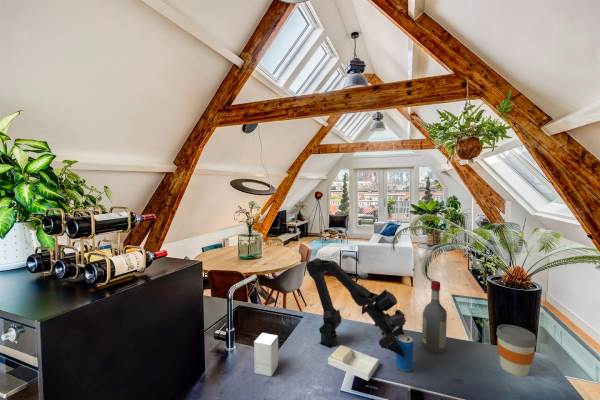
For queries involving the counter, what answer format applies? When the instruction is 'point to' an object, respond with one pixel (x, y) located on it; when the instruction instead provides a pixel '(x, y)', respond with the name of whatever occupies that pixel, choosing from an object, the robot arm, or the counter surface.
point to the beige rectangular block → (343, 354)
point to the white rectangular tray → (357, 364)
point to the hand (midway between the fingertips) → (406, 350)
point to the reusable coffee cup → (515, 349)
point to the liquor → (434, 323)
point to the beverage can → (407, 348)
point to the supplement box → (266, 354)
